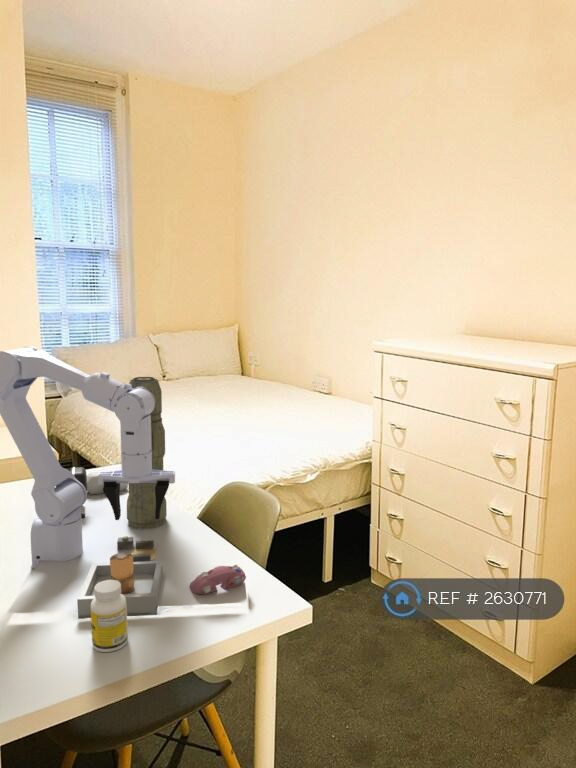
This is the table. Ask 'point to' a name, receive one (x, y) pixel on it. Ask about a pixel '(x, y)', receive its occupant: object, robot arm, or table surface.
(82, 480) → the battery charger
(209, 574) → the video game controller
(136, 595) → the tray
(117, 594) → the supplement bottle
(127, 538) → the brown stand base
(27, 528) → the table surface
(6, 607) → the table surface
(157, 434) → the thermos
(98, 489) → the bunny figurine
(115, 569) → the cell
